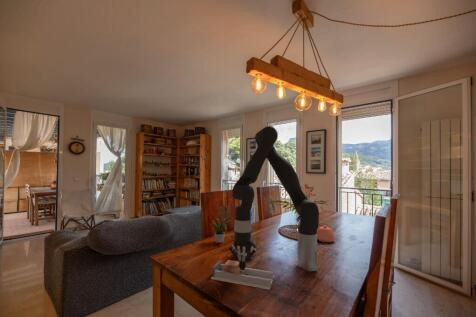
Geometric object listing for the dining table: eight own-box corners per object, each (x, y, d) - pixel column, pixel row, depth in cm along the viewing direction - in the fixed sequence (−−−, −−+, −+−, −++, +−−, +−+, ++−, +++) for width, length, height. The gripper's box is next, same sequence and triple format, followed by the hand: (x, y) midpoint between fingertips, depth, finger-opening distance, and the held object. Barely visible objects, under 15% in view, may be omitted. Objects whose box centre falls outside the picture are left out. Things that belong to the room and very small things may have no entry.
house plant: (232, 238, 153) (232, 215, 154) (232, 245, 139) (232, 219, 140) (211, 238, 153) (211, 215, 153) (209, 245, 139) (209, 219, 139)
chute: (274, 277, 99) (274, 266, 99) (269, 292, 87) (269, 279, 88) (221, 269, 107) (221, 258, 107) (210, 280, 96) (210, 269, 96)
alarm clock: (256, 257, 121) (256, 228, 121) (254, 261, 116) (255, 230, 116) (237, 255, 124) (237, 226, 124) (235, 259, 118) (235, 229, 119)
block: (240, 273, 100) (240, 261, 100) (236, 278, 95) (237, 266, 96) (228, 270, 102) (228, 260, 102) (224, 275, 97) (224, 264, 98)
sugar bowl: (338, 244, 145) (337, 228, 145) (316, 243, 145) (316, 228, 145) (330, 238, 157) (330, 223, 157) (310, 237, 157) (310, 223, 158)
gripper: (259, 228, 100) (258, 267, 99) (231, 226, 104) (231, 263, 103) (255, 233, 92) (254, 275, 92) (225, 230, 97) (225, 270, 96)
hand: (242, 269), depth 97 cm, fingers closed
